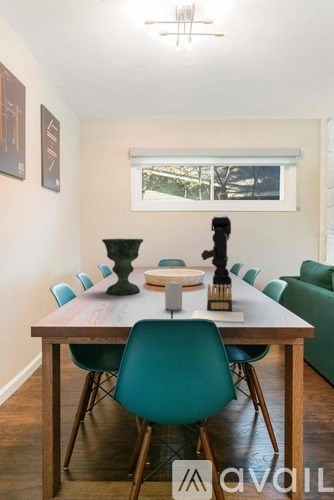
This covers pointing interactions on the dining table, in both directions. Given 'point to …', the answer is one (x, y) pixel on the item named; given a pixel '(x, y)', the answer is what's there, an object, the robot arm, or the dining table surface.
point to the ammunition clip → (219, 299)
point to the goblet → (122, 263)
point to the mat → (220, 316)
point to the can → (173, 295)
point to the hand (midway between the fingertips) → (220, 278)
